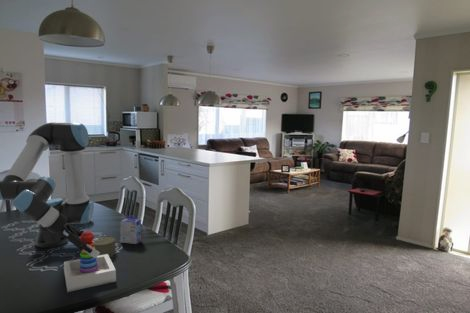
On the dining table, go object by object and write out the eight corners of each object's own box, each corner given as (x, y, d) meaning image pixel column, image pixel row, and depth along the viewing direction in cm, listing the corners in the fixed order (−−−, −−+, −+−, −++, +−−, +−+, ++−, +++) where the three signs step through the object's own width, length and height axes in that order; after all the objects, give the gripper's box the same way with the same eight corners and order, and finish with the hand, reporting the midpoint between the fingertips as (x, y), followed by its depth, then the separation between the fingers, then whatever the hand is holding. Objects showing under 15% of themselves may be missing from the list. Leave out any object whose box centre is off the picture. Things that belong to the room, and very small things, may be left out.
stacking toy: (82, 269, 143) (81, 228, 141) (101, 269, 143) (100, 228, 141) (75, 278, 135) (74, 234, 133) (95, 278, 135) (94, 234, 133)
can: (103, 260, 155) (103, 246, 155) (84, 256, 160) (83, 242, 159) (120, 251, 167) (120, 238, 166) (101, 247, 171) (101, 234, 170)
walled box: (64, 273, 142) (63, 261, 141) (108, 264, 151) (107, 253, 151) (67, 292, 127) (67, 279, 126) (116, 281, 136) (115, 269, 135)
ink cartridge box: (141, 240, 181) (141, 215, 179) (136, 244, 175) (136, 218, 174) (125, 239, 183) (125, 213, 181) (120, 242, 177) (119, 216, 176)
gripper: (44, 219, 139) (84, 246, 148) (46, 237, 118) (92, 268, 127) (58, 205, 141) (96, 233, 150) (62, 221, 120) (106, 253, 129)
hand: (94, 249), depth 139 cm, fingers open, 13 cm apart
